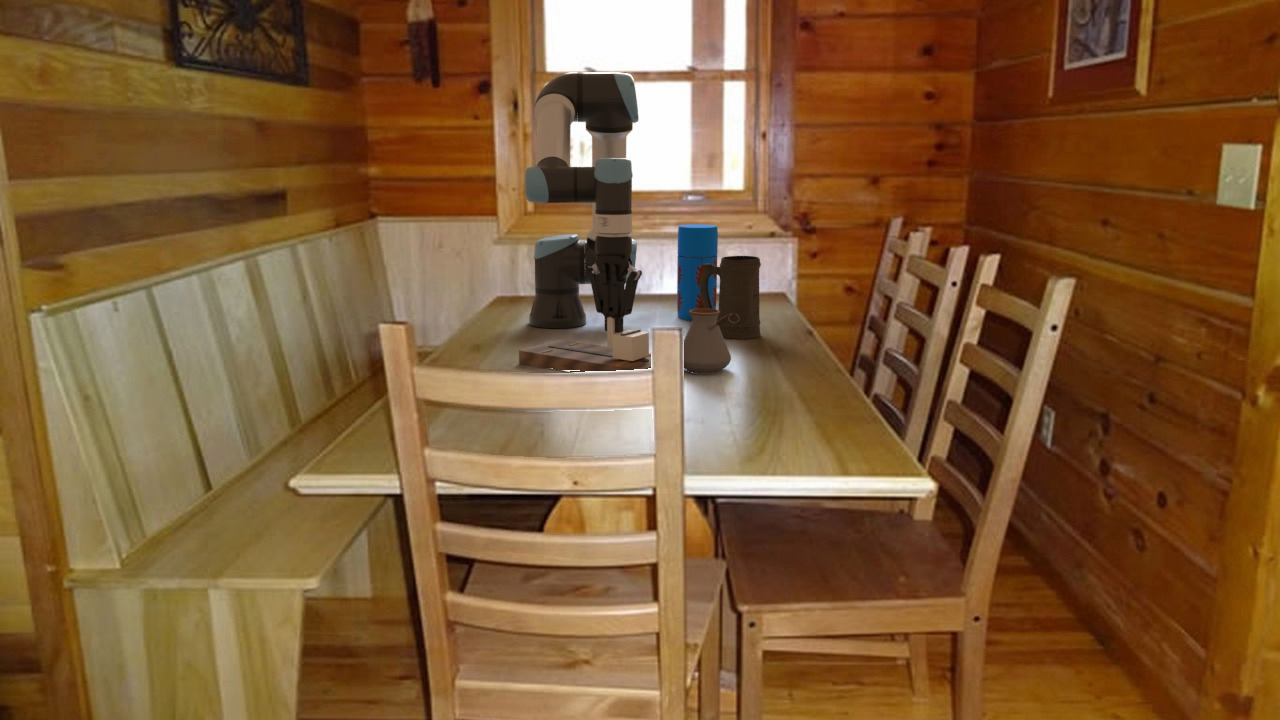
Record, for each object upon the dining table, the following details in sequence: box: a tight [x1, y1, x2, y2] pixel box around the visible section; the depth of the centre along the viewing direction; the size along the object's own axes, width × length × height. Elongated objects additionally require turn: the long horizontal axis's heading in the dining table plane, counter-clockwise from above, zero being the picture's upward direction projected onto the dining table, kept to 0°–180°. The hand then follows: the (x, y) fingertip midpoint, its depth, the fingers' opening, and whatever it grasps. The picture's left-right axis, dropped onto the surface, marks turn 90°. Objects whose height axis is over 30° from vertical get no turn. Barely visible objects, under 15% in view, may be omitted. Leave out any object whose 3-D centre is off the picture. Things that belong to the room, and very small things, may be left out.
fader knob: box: [613, 328, 650, 361], centre depth 195 cm, size 5×6×5 cm
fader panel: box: [518, 339, 652, 372], centre depth 201 cm, size 32×14×3 cm, turn 55°
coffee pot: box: [683, 308, 739, 376], centre depth 193 cm, size 21×12×15 cm, turn 18°
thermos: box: [676, 224, 719, 321], centre depth 258 cm, size 11×11×25 cm
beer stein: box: [700, 255, 762, 340], centre depth 234 cm, size 15×11×20 cm
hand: (614, 347), depth 198 cm, fingers closed
